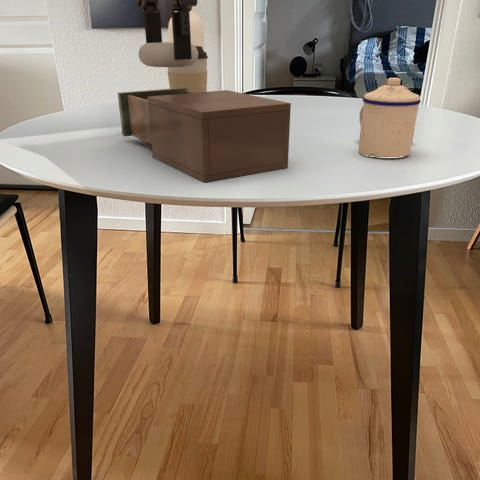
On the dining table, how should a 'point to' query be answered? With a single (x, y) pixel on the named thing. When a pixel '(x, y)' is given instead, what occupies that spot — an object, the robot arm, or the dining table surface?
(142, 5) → the robot arm
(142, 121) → the drawer
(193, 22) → the alcohol
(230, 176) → the cabinet
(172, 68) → the coffee cup
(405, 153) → the teacup with lid
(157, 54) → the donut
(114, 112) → the dining table surface
